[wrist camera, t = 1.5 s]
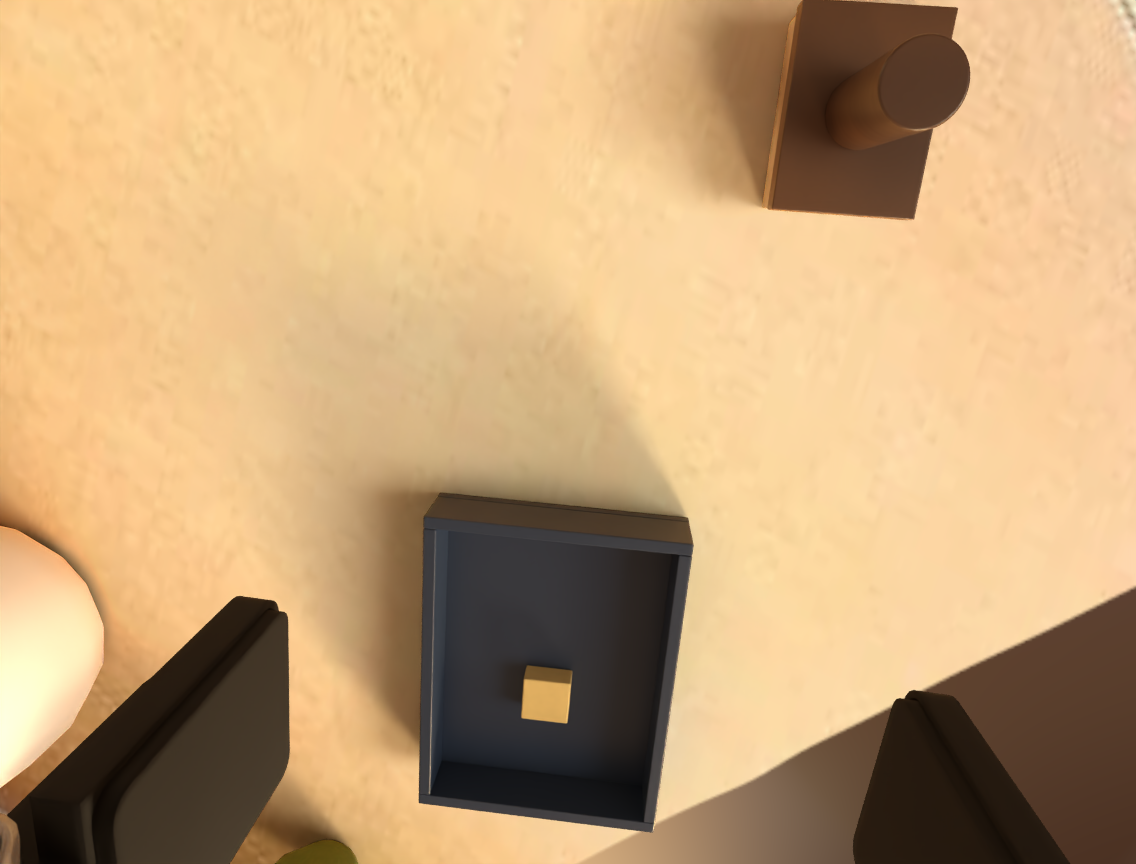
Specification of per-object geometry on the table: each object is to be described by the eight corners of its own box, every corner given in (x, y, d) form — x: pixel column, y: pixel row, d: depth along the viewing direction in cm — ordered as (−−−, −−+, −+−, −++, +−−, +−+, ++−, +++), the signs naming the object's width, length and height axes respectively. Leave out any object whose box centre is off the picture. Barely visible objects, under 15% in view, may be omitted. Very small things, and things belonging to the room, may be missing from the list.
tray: (440, 492, 35) (423, 516, 32) (688, 517, 34) (693, 544, 31) (433, 761, 39) (418, 803, 37) (651, 788, 39) (653, 833, 36)
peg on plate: (786, 19, 28) (853, -67, 20) (926, 28, 27) (1054, -56, 19) (758, 210, 30) (808, 205, 22) (888, 220, 30) (989, 218, 21)
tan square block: (526, 664, 37) (523, 678, 35) (572, 669, 36) (570, 684, 35) (523, 703, 37) (520, 718, 36) (568, 708, 37) (567, 724, 36)
